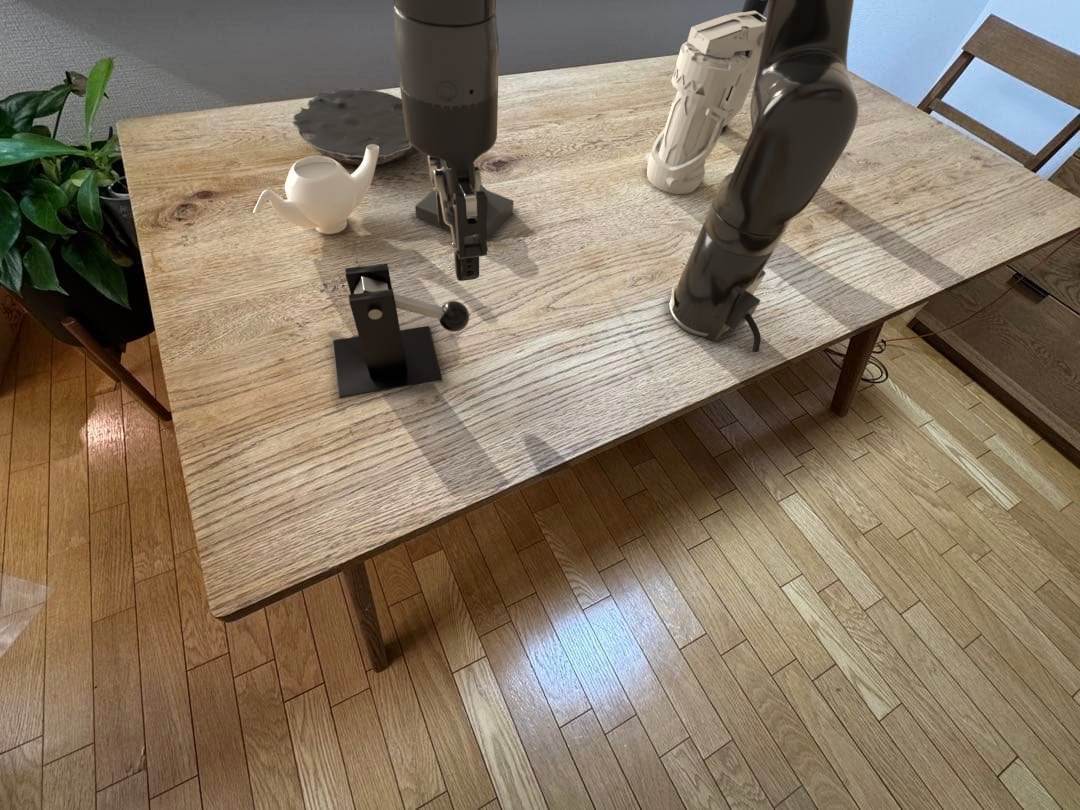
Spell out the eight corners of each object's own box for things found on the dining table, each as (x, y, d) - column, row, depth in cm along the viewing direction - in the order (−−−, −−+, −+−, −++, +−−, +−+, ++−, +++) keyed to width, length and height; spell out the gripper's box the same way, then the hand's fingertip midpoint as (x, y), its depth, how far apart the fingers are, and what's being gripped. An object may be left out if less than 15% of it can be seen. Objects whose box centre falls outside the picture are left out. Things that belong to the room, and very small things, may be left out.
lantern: (664, 199, 91) (718, 37, 71) (634, 167, 96) (677, 7, 76) (721, 187, 95) (789, 31, 75) (690, 157, 100) (745, 3, 80)
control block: (512, 212, 85) (514, 190, 81) (482, 245, 79) (482, 223, 76) (450, 187, 87) (449, 165, 83) (416, 218, 81) (413, 195, 78)
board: (417, 112, 99) (414, 84, 95) (442, 177, 88) (440, 148, 84) (296, 119, 94) (287, 89, 89) (305, 190, 82) (296, 159, 78)
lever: (456, 319, 64) (471, 299, 62) (463, 340, 62) (477, 320, 60) (350, 291, 56) (363, 266, 54) (354, 315, 54) (367, 290, 52)
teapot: (252, 233, 75) (226, 174, 68) (369, 187, 85) (358, 130, 77) (286, 268, 72) (264, 210, 64) (404, 216, 81) (397, 160, 74)
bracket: (429, 331, 68) (419, 247, 57) (442, 385, 64) (435, 304, 52) (334, 346, 65) (304, 259, 54) (340, 403, 61) (309, 321, 49)
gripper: (522, 121, 37) (512, 292, 50) (475, 36, 44) (477, 204, 57) (416, 129, 35) (435, 303, 48) (385, 39, 42) (409, 212, 55)
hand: (457, 249), depth 53 cm, fingers open, 8 cm apart
